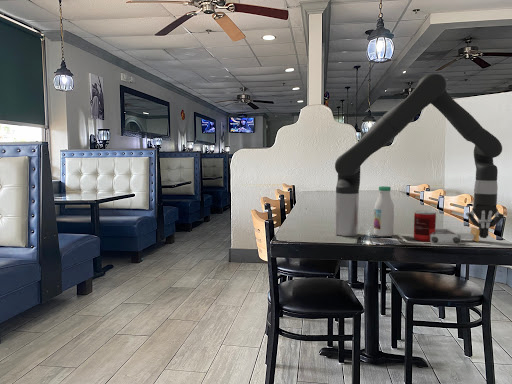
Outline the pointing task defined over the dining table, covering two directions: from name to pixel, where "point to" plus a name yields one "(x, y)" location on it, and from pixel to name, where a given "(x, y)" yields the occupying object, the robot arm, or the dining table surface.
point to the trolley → (453, 236)
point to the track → (434, 243)
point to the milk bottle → (384, 213)
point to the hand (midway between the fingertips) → (483, 237)
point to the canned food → (424, 224)
